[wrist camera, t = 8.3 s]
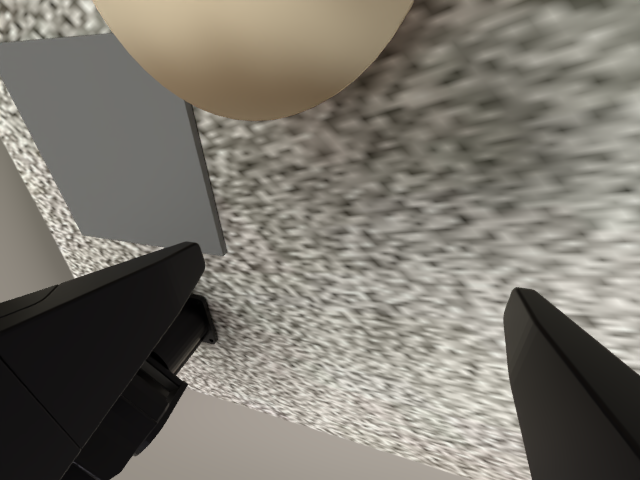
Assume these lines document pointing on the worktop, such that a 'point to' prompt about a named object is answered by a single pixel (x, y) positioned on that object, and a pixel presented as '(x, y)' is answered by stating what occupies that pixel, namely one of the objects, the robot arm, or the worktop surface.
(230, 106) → the lid
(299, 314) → the worktop surface
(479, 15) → the worktop surface
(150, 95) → the mat
